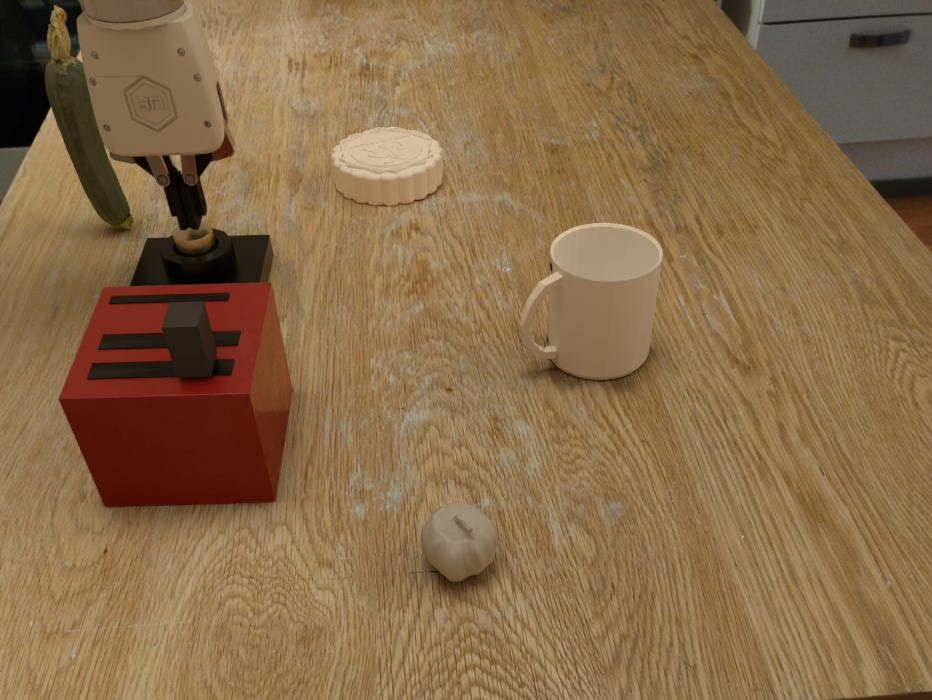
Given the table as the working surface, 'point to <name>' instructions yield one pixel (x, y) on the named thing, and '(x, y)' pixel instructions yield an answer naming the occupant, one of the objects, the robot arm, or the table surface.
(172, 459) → the toaster
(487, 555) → the garlic
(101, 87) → the robot arm
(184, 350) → the toaster slider
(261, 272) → the button block
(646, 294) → the mug
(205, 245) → the button
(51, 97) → the vegetable
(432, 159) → the mooncake
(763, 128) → the table surface
